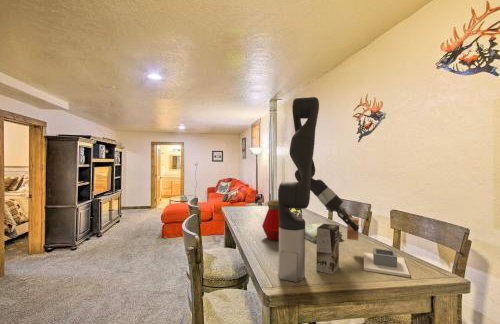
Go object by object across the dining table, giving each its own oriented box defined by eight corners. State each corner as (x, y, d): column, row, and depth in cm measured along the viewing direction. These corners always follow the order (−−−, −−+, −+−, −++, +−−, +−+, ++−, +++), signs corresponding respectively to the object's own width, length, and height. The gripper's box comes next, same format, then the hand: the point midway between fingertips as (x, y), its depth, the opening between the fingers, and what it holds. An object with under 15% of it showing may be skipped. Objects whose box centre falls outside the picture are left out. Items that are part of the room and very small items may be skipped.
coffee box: (333, 274, 97) (333, 230, 97) (315, 270, 100) (316, 227, 100) (339, 266, 105) (340, 224, 105) (323, 263, 108) (323, 222, 108)
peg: (358, 240, 117) (358, 219, 117) (347, 239, 119) (347, 218, 119) (358, 238, 121) (358, 217, 122) (347, 236, 123) (348, 217, 123)
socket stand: (409, 277, 95) (409, 263, 95) (363, 270, 101) (363, 256, 101) (403, 260, 112) (403, 248, 112) (363, 254, 118) (364, 243, 118)
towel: (313, 243, 134) (313, 233, 134) (293, 232, 154) (293, 223, 154) (344, 240, 140) (344, 230, 140) (320, 230, 160) (321, 221, 160)
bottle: (295, 240, 138) (296, 201, 138) (275, 244, 131) (275, 203, 131) (276, 233, 151) (276, 197, 151) (256, 236, 144) (256, 199, 144)
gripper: (334, 195, 117) (364, 226, 112) (337, 192, 130) (364, 220, 125) (321, 207, 119) (350, 237, 114) (325, 202, 132) (351, 230, 127)
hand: (357, 228), depth 120 cm, fingers closed on peg, 4 cm apart
